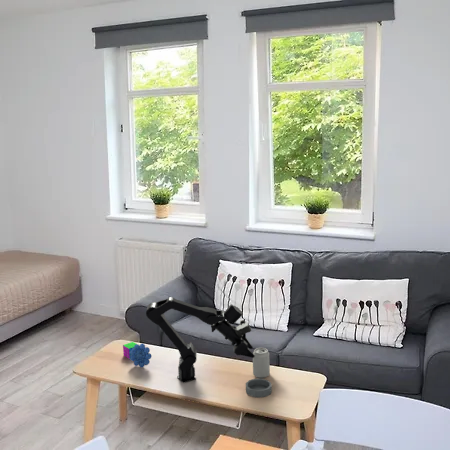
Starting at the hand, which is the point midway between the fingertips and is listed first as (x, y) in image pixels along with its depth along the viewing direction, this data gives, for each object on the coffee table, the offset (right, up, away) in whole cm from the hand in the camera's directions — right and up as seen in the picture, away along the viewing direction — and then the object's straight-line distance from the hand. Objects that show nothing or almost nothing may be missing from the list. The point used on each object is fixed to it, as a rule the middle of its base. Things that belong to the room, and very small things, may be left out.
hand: (253, 352), depth 250 cm
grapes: (-51, -10, +14) cm, 54 cm away
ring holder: (+2, -14, -12) cm, 18 cm away
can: (+4, -11, +2) cm, 12 cm away
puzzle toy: (-58, -8, +26) cm, 64 cm away
